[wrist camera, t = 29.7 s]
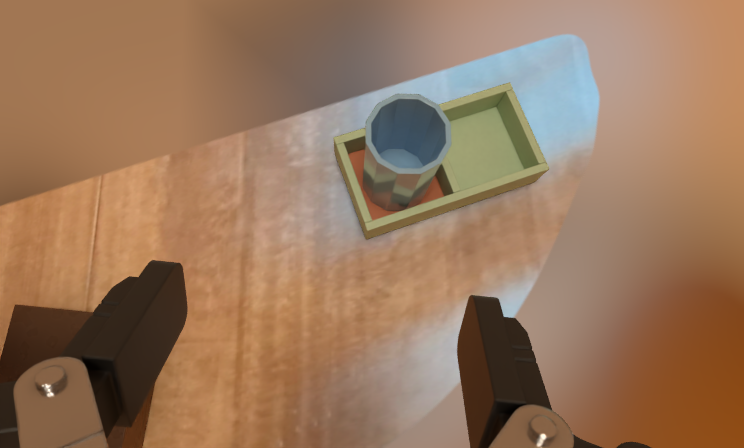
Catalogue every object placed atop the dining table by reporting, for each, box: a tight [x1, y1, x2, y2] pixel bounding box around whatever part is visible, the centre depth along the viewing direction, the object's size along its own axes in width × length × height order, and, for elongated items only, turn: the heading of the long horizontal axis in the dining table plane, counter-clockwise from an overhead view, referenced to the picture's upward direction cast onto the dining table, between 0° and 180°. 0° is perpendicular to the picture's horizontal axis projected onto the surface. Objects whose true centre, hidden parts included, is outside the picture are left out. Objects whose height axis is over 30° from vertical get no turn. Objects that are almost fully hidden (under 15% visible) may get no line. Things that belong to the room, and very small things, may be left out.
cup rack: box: [334, 82, 549, 239], centre depth 44 cm, size 9×16×4 cm, turn 110°
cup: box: [362, 94, 452, 211], centre depth 39 cm, size 6×6×10 cm
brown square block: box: [0, 305, 154, 448], centre depth 38 cm, size 10×10×4 cm
